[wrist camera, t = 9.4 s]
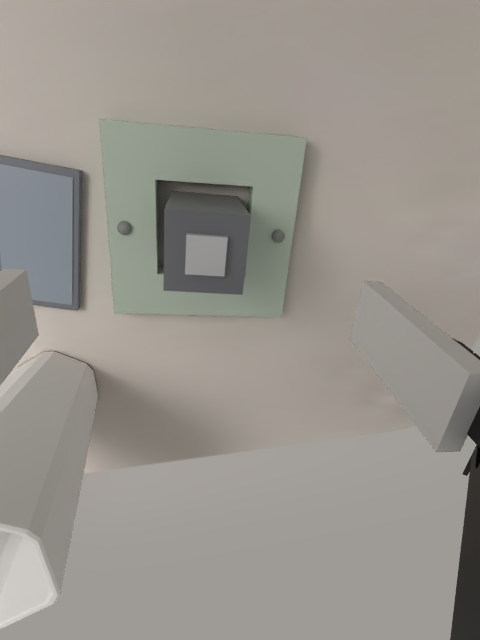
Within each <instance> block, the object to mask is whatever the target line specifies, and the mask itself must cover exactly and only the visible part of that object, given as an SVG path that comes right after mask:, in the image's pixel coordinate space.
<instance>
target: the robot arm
mask: <svg viewBox="0 0 480 640" xmlns="http://www.w3.org/2000/svg"><path fill="white" fill-rule="evenodd" d="M38 335H39V334H38V329H37V324H36V318H35V313H34V307H33V302H32V297H31V291H30V286H29V281H28V275H27V270H26V269H3V270H1V271H0V385H1V384H2V383H3V381H4V380H5V379H6V377H7V376H8V375H9V374H10V372H11V371H12V370H13V368H14V367H15V366H16V364H17V363H18V362H19V360H20V359H21V358H22V356H23V355H24V354H25V352H26V351H27V350H28V348H29V347H30V346H31V344H32V343H33V342H34V340H35V339H36V338H37V337H38ZM350 340H351V341H352V343H353V344H354V345H355V347H356V348H357V349H358V350H359V352H360V353H361V354H362V356H363V357H364V358H365V360H366V361H367V362H368V364H369V365H370V366H371V367H372V369H373V370H374V371H375V373H376V374H377V375H378V377H379V378H380V379H381V381H382V382H383V383H384V385H385V386H386V387H387V388H388V390H389V391H390V392H391V394H392V395H393V396H394V398H395V399H396V400H397V402H398V403H399V404H400V405H401V407H402V408H403V409H404V411H405V412H406V413H407V415H408V416H409V417H410V419H411V420H412V421H413V422H414V424H415V425H416V426H417V428H418V429H419V430H420V432H421V433H422V434H423V436H424V437H425V438H426V440H427V441H428V442H429V443H430V445H431V446H432V447H433V449H434V450H435V451H436V452H453V451H454V452H455V451H460V450H461V448H462V446H463V444H464V442H465V439H466V438H467V435H469V437H470V438H471V439H472V440H473V441H474V442H475V443H476V444H477V445H476V447H475V450H474V452H473V454H472V456H471V458H470V460H469V462H468V464H467V466H466V468H465V470H464V472H463V474H464V475H466V476H467V475H468V473H469V472H470V475H469V483H468V492H467V501H466V509H465V518H464V527H463V535H462V544H461V552H460V561H459V570H458V578H457V587H456V595H455V604H454V612H453V622H452V630H451V638H450V640H480V357H479V356H478V355H477V354H475V353H473V351H472V350H470V349H469V348H468V347H467V346H465V345H464V344H463V343H461V342H459V341H457V340H455V339H453V338H451V337H450V336H449V335H447V334H446V333H445V332H443V331H442V330H441V329H440V328H438V327H437V326H436V325H435V324H433V323H432V322H431V321H430V320H428V319H427V318H426V317H425V316H423V315H422V314H421V313H419V312H418V311H417V310H416V309H414V308H413V307H412V306H411V305H409V304H408V303H407V302H406V301H404V300H403V299H402V298H401V297H399V296H398V295H397V294H396V293H394V292H393V291H392V290H390V289H389V288H388V287H387V286H385V285H384V284H383V283H382V282H370V281H364V282H363V286H362V290H361V294H360V298H359V302H358V306H357V311H356V315H355V319H354V323H353V327H352V331H351V335H350Z"/></svg>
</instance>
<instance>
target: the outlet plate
mask: <svg viewBox="0 0 480 640" xmlns="http://www.w3.org/2000/svg"><path fill="white" fill-rule="evenodd" d="M99 120H100V133H101V146H102V159H103V172H104V185H105V198H106V211H107V224H108V237H109V251H110V264H111V277H112V290H113V303H114V313H126V314H165V315H205V316H245V317H282V312H283V305H284V297H285V290H286V283H287V276H288V269H289V262H290V255H291V248H292V240H293V233H294V226H295V219H296V212H297V205H298V198H299V190H300V183H301V176H302V169H303V162H304V155H305V148H306V140H307V138H306V137H295V136H284V135H273V134H262V133H251V132H239V131H228V130H217V129H206V128H195V127H184V126H173V125H162V124H151V123H140V122H129V121H118V120H107V119H99ZM157 180H166V181H180V182H194V183H208V184H223V185H237V186H250V193H249V205H248V212H249V213H250V215H251V222H250V231H249V240H248V249H247V258H246V268H245V277H244V286H243V295H236V294H217V293H198V292H179V291H163V284H164V268H159V238H158V183H157Z"/></svg>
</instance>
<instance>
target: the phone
mask: <svg viewBox="0 0 480 640" xmlns="http://www.w3.org/2000/svg"><path fill="white" fill-rule="evenodd" d="M81 197H82V170H77V169H71V168H66V167H61V166H56V165H51V164H45V163H40V162H35V161H30V160H24V159H19V158H14V157H9V156H3V155H0V271H1V270H3V269H26V270H27V275H28V281H29V286H30V291H31V297H32V302H33V305H38V306H46V307H53V308H61V309H69V310H76V311H78V309H79V308H80V265H81Z"/></svg>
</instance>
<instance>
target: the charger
mask: <svg viewBox="0 0 480 640" xmlns="http://www.w3.org/2000/svg"><path fill="white" fill-rule="evenodd" d="M250 222H251V215H250V213H249V212H248V211H247V209H246V208H245V206H244V205H243V204H242V202H241V201H240V199H239V198H238V197H237V196H225V195H214V194H203V193H192V192H181V191H172V193H171V195H170V197H169V199H168V201H167V204H166V206H165V208H164V284H163V291H179V292H198V293H217V294H236V295H243V286H244V277H245V268H246V258H247V249H248V240H249V231H250Z"/></svg>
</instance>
